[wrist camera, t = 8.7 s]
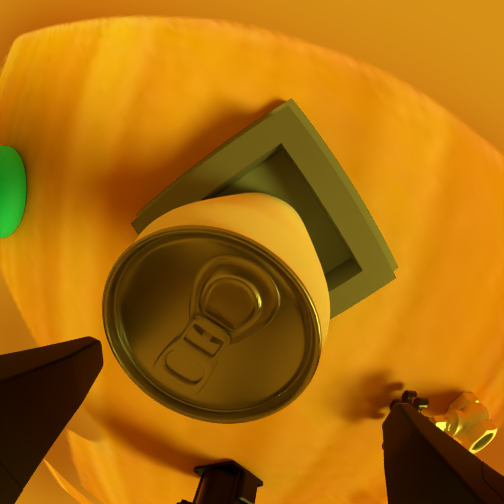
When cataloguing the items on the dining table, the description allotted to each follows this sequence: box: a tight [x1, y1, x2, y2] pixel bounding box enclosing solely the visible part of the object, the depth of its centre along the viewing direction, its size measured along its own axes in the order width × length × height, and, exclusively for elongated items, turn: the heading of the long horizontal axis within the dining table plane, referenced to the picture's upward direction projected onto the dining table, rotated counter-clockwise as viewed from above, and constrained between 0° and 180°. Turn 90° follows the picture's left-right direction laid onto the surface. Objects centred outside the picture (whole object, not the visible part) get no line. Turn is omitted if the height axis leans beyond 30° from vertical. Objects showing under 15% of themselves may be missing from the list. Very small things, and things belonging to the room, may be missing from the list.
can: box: [102, 192, 330, 424], centre depth 12 cm, size 6×6×12 cm
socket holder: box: [131, 98, 398, 319], centre depth 17 cm, size 13×13×4 cm
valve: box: [382, 390, 497, 453], centre depth 17 cm, size 7×7×12 cm
